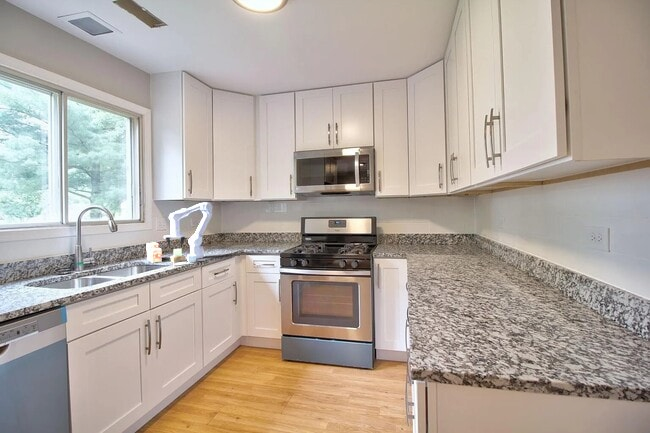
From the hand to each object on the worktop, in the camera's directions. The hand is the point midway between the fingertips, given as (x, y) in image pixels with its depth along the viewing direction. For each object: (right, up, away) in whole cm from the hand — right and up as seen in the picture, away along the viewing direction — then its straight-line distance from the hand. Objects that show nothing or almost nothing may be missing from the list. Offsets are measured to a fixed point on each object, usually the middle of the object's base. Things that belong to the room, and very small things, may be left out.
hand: (175, 247), depth 216 cm
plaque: (+11, -10, -15) cm, 21 cm away
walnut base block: (+3, -10, -2) cm, 10 cm away
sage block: (+2, -6, -2) cm, 7 cm away
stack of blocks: (-17, -10, +2) cm, 20 cm away
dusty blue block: (+14, -10, -5) cm, 18 cm away
